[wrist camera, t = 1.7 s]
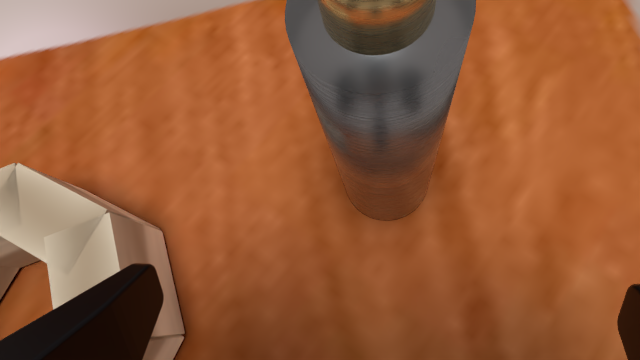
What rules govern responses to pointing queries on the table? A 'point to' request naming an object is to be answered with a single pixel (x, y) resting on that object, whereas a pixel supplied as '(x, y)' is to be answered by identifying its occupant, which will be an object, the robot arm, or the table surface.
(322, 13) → the bottle
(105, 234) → the cream octagonal ring
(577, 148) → the table surface
